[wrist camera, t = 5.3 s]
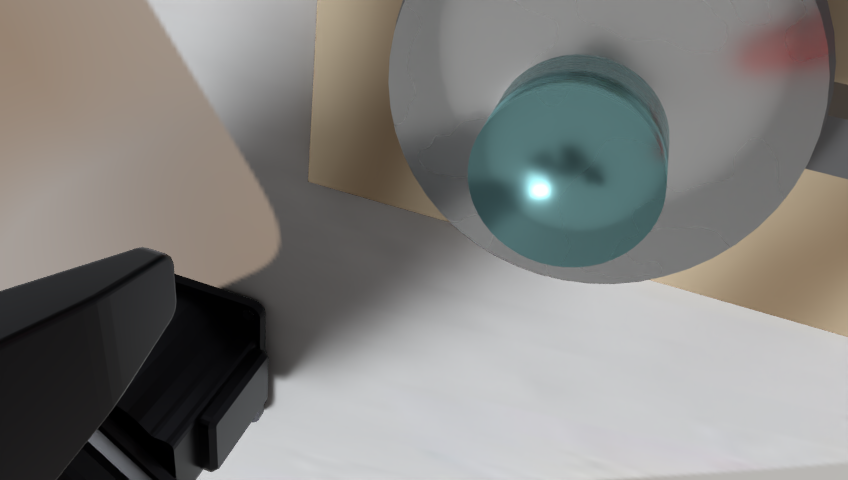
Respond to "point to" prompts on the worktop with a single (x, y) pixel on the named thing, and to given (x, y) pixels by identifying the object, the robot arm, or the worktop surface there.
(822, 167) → the grey cylinder
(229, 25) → the worktop surface
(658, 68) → the pot lid
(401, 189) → the oak board
